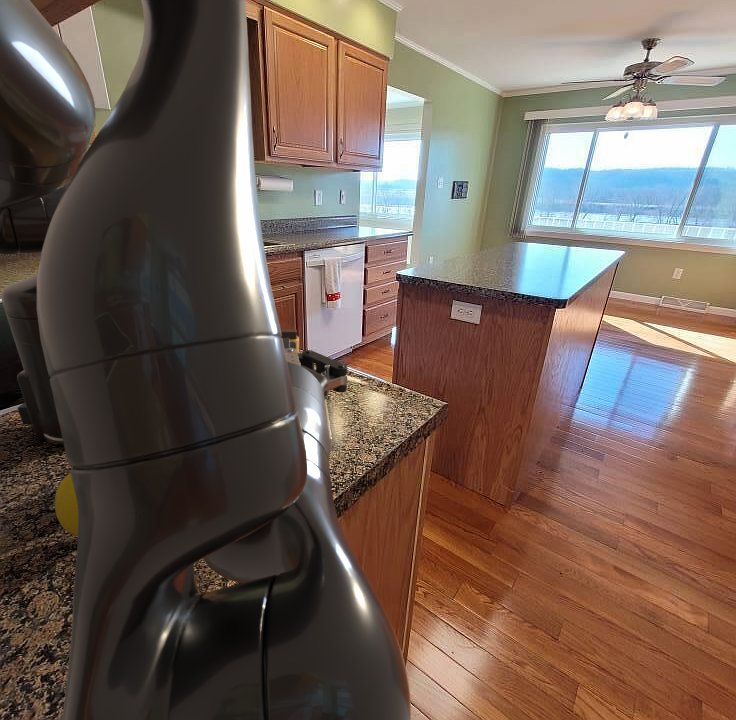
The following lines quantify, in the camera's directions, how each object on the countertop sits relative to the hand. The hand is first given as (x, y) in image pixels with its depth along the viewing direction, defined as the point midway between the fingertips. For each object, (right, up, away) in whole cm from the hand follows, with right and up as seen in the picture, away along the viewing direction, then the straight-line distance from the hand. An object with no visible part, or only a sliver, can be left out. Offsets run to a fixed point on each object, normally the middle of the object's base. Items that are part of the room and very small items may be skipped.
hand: (283, 345), depth 44 cm
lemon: (-17, -19, -5) cm, 26 cm away
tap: (-4, -10, +14) cm, 17 cm away
